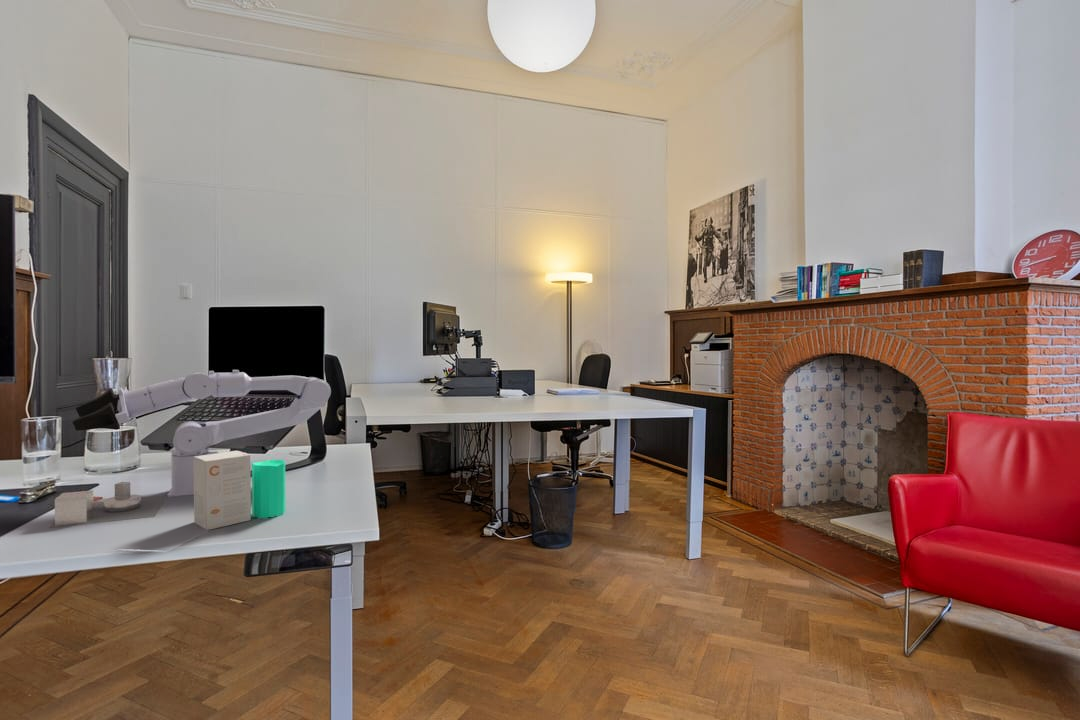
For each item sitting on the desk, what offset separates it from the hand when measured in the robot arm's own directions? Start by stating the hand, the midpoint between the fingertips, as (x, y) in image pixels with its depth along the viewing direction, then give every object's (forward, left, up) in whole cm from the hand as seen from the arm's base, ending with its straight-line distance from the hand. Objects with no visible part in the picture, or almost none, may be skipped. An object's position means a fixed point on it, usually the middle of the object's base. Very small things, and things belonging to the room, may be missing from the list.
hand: (76, 418), depth 115 cm
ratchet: (-6, +7, -18) cm, 20 cm away
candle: (-36, +23, -18) cm, 47 cm away
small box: (-28, +25, -18) cm, 42 cm away
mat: (-8, +9, -18) cm, 22 cm away
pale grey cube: (-3, +14, -18) cm, 23 cm away
